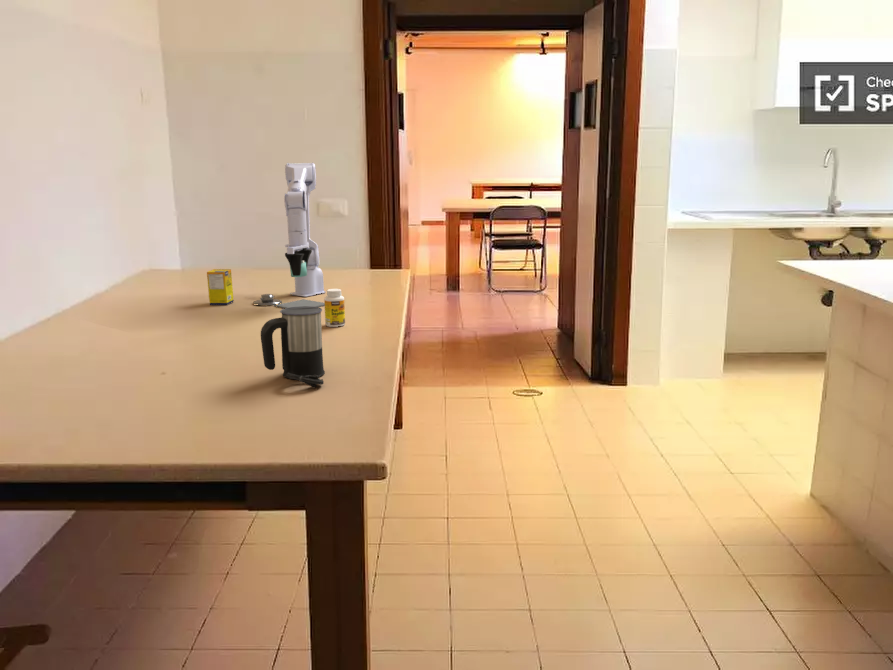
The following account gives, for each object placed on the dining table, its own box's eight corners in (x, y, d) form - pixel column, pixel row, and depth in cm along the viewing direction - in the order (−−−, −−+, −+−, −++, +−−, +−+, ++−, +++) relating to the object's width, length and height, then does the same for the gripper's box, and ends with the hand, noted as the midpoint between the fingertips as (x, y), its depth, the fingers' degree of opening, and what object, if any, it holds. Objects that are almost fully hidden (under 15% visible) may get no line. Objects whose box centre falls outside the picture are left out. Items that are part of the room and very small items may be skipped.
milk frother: (307, 366, 184) (303, 303, 181) (354, 378, 174) (351, 312, 171) (256, 380, 174) (252, 314, 170) (304, 394, 164) (300, 324, 160)
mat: (303, 300, 261) (303, 299, 261) (328, 305, 254) (328, 303, 253) (274, 306, 252) (274, 305, 252) (299, 311, 245) (299, 309, 244)
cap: (309, 274, 252) (307, 259, 251) (303, 276, 248) (302, 261, 247) (294, 274, 253) (293, 260, 252) (288, 277, 249) (287, 262, 248)
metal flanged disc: (269, 299, 263) (269, 291, 263) (287, 302, 258) (287, 294, 257) (247, 304, 257) (246, 295, 256) (265, 307, 251) (264, 298, 250)
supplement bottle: (330, 328, 221) (329, 292, 219) (322, 325, 226) (320, 289, 224) (348, 325, 224) (347, 290, 222) (340, 322, 229) (338, 287, 227)
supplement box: (234, 301, 261) (231, 268, 258) (227, 305, 255) (224, 271, 252) (216, 301, 261) (213, 268, 259) (209, 305, 255) (206, 271, 253)
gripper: (293, 228, 255) (295, 270, 258) (276, 233, 241) (279, 277, 244) (314, 228, 254) (316, 270, 257) (298, 233, 240) (301, 277, 243)
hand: (299, 274), depth 250 cm, fingers closed on cap, 5 cm apart
